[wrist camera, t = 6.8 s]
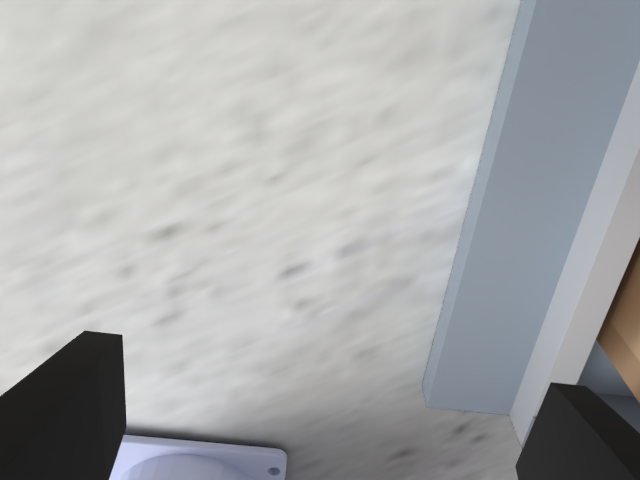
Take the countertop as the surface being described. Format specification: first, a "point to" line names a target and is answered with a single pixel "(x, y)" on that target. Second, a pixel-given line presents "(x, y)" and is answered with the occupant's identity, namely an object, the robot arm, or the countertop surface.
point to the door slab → (625, 326)
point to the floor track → (547, 219)
